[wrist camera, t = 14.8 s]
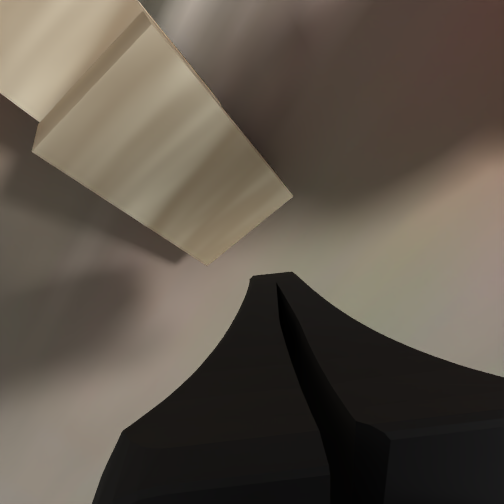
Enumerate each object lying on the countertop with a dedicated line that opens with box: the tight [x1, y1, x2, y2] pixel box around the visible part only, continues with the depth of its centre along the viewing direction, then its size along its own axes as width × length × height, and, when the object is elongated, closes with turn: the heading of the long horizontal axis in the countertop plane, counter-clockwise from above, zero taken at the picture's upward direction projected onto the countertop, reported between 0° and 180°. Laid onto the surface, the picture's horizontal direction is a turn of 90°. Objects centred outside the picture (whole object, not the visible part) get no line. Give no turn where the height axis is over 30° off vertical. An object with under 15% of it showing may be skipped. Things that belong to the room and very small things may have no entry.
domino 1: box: [0, 0, 221, 122], centre depth 11 cm, size 2×5×8 cm
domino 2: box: [32, 11, 293, 266], centre depth 13 cm, size 2×5×8 cm
